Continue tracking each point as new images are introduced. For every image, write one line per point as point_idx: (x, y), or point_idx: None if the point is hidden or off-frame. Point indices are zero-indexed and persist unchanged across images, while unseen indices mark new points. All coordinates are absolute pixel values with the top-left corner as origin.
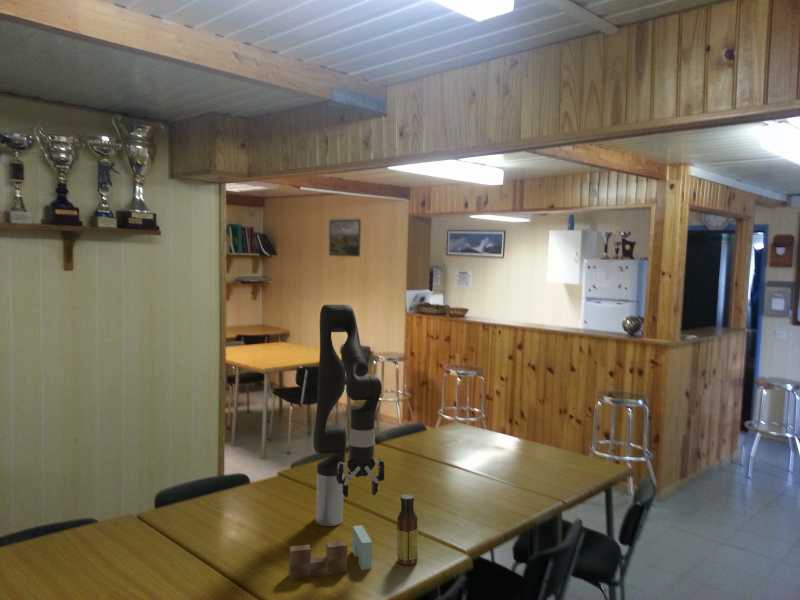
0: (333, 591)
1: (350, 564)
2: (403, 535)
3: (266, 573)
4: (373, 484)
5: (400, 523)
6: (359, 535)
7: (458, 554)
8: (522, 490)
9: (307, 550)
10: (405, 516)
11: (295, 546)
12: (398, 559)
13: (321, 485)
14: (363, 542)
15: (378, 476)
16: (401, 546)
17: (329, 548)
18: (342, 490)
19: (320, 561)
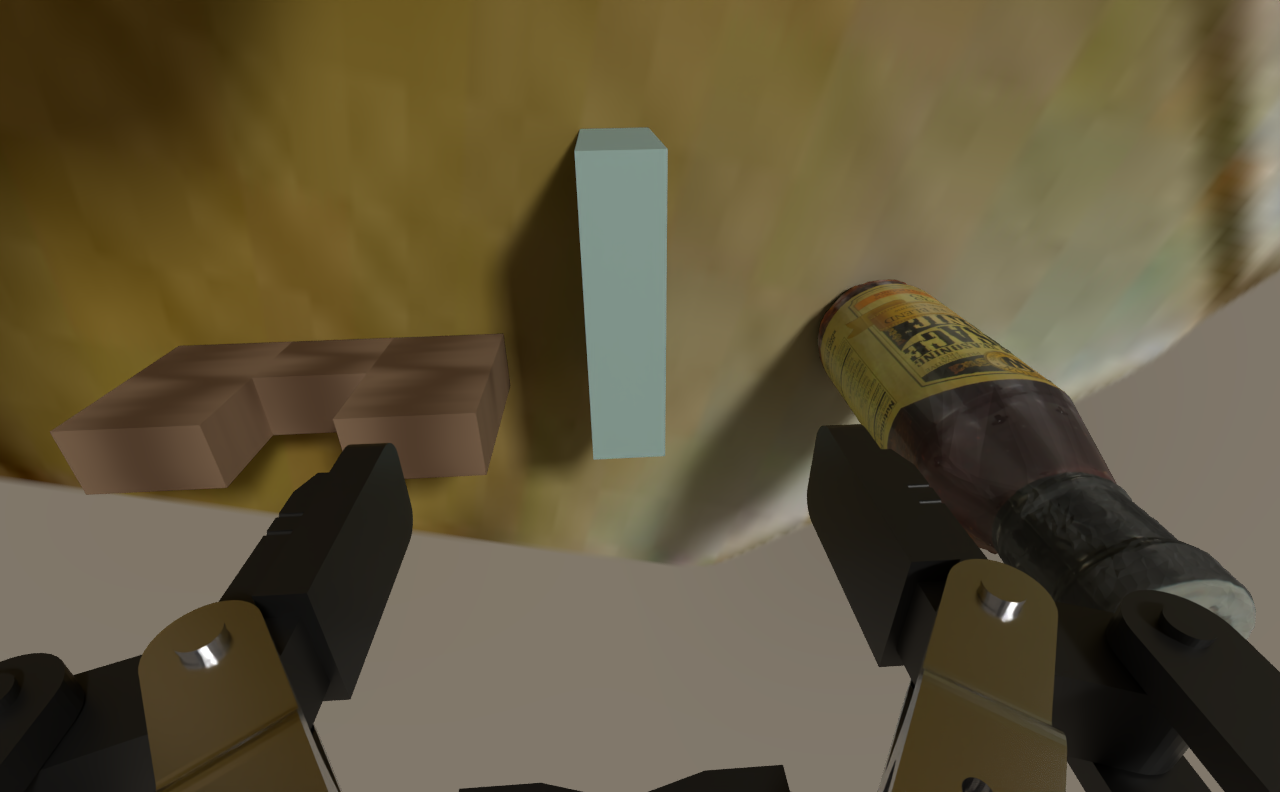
0: (433, 521)
1: (543, 301)
2: None
3: (30, 311)
4: (874, 621)
5: None
6: (597, 348)
7: (1173, 308)
8: None
9: (206, 485)
10: (986, 545)
11: (96, 435)
12: (820, 342)
13: None
14: (603, 454)
15: (1092, 721)
16: (854, 413)
17: None
18: (281, 533)
19: (334, 425)
